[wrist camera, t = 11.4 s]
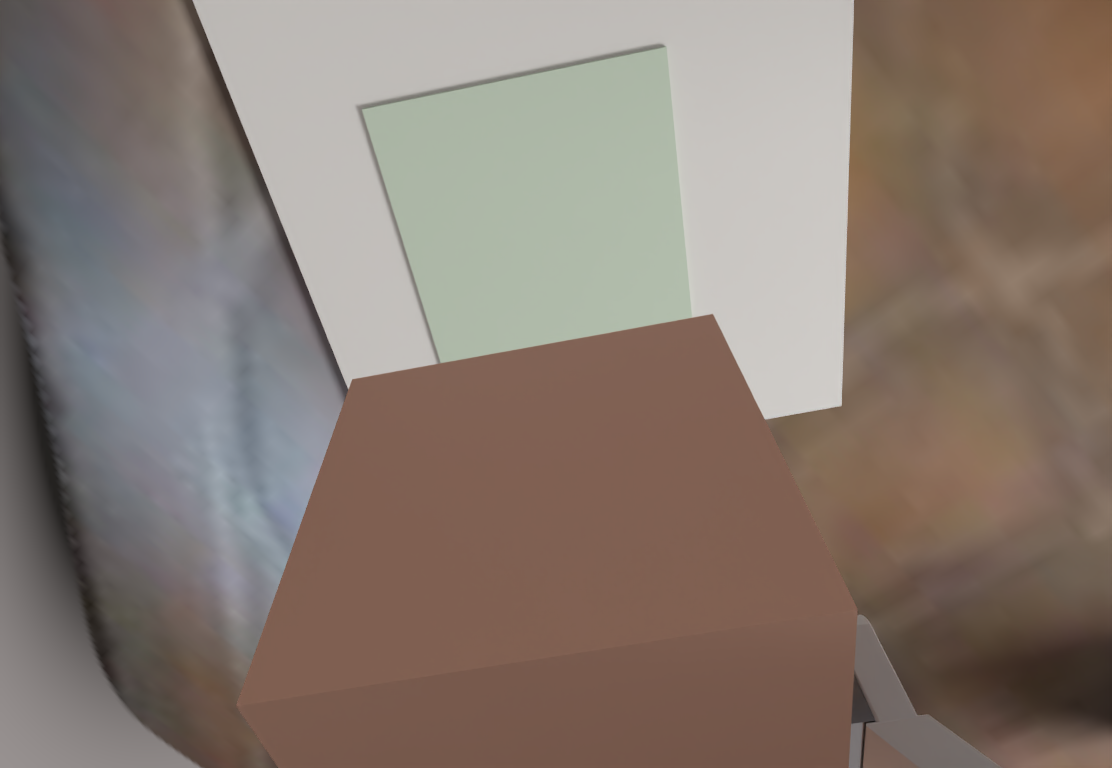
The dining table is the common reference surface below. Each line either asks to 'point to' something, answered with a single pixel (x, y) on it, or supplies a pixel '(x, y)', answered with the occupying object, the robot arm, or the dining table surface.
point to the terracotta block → (558, 573)
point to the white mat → (557, 173)
